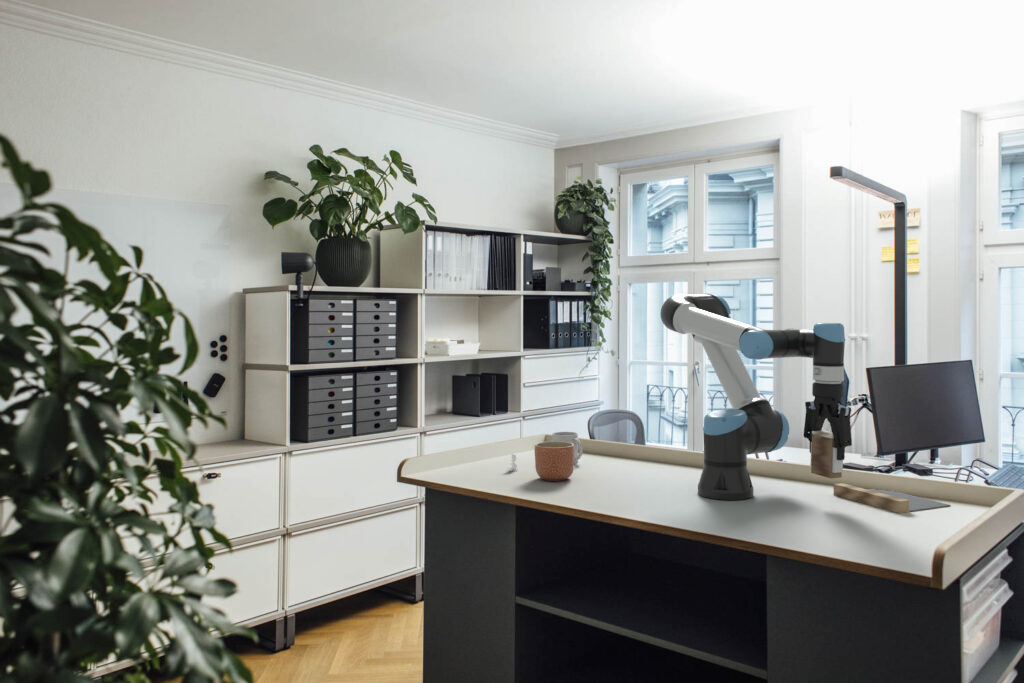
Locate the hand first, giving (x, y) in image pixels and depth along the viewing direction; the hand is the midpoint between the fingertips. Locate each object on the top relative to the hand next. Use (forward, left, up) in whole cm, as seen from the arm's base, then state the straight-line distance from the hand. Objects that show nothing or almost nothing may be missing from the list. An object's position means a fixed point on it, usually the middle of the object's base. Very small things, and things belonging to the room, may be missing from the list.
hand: (826, 468), depth 199 cm
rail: (+3, +12, -10) cm, 16 cm away
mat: (+3, +21, -10) cm, 23 cm away
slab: (0, 0, -2) cm, 2 cm away
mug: (-83, -36, -10) cm, 91 cm away
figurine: (-78, -58, -10) cm, 98 cm away
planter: (-60, -51, -10) cm, 80 cm away
